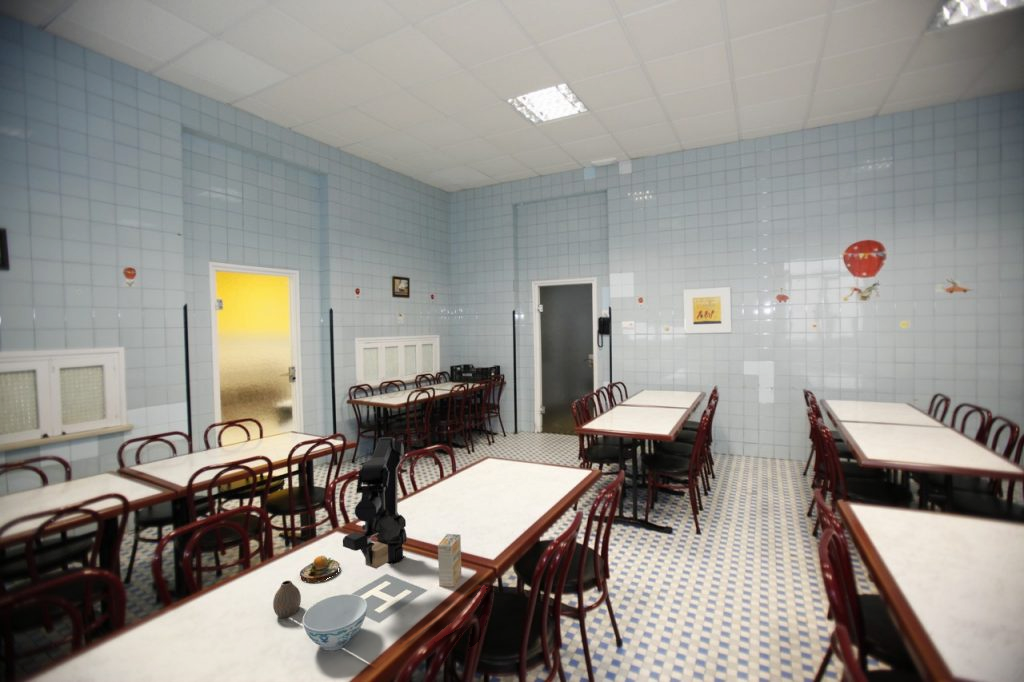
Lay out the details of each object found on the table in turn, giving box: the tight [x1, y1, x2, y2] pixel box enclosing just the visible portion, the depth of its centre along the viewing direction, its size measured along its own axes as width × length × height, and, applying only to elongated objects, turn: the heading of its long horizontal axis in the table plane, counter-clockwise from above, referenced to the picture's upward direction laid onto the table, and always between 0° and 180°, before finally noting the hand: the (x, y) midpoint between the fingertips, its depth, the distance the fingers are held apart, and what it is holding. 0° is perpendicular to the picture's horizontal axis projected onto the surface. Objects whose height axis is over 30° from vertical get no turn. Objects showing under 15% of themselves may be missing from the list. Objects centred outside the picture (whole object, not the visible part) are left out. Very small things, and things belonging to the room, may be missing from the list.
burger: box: [299, 555, 340, 583], centre depth 150 cm, size 12×12×8 cm
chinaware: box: [302, 593, 367, 652], centre depth 116 cm, size 15×15×8 cm
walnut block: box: [364, 541, 388, 570], centre depth 135 cm, size 4×4×5 cm
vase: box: [272, 580, 302, 619], centre depth 128 cm, size 7×7×9 cm
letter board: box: [351, 573, 428, 624], centre depth 135 cm, size 18×18×1 cm
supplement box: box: [437, 533, 462, 588], centre depth 143 cm, size 8×5×13 cm, turn 168°
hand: (376, 560), depth 135 cm, fingers closed on walnut block, 4 cm apart
